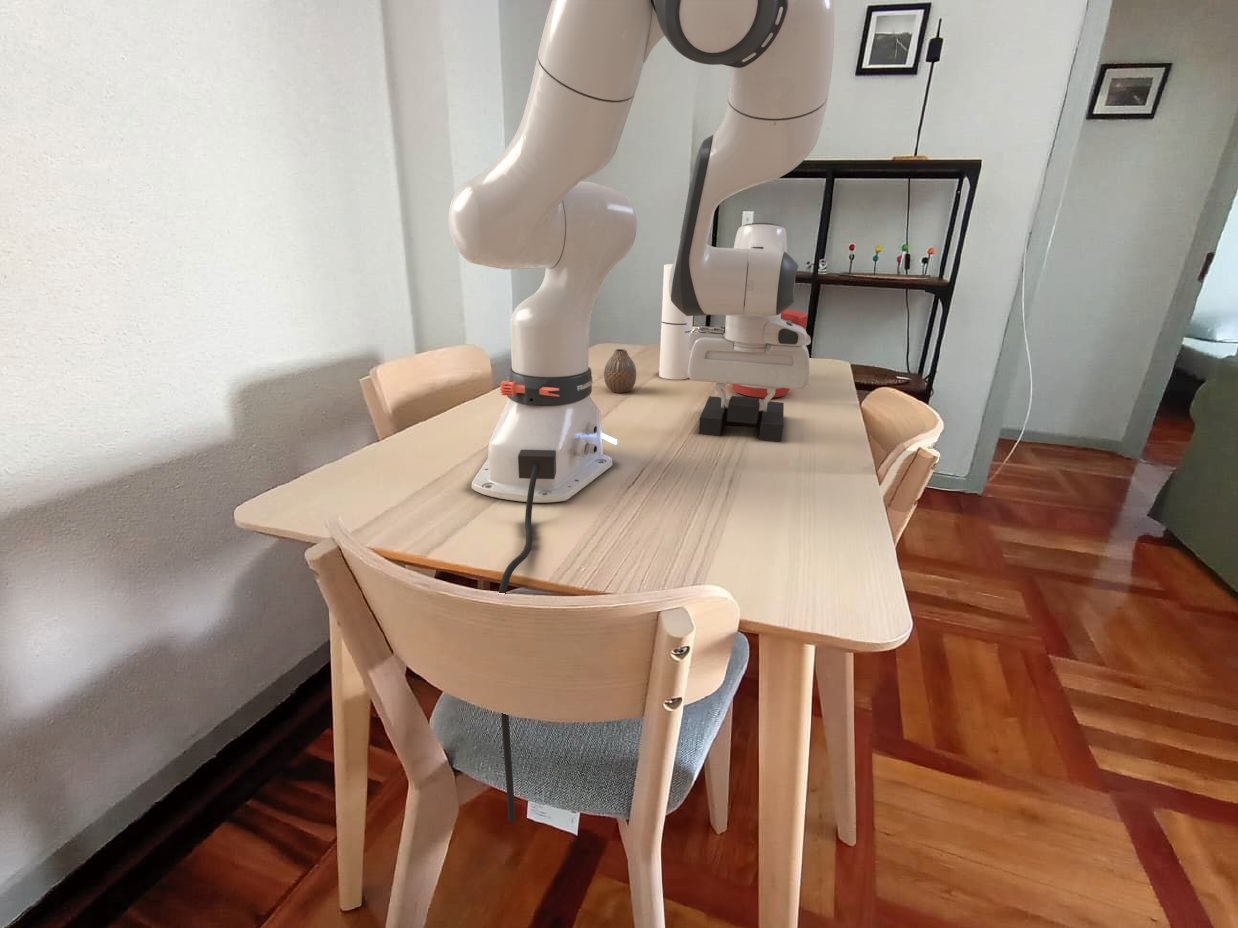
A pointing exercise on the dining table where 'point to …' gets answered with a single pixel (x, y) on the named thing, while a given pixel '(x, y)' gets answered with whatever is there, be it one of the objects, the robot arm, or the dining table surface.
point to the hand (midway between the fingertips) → (743, 409)
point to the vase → (620, 372)
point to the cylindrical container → (673, 336)
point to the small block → (743, 409)
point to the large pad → (766, 421)
